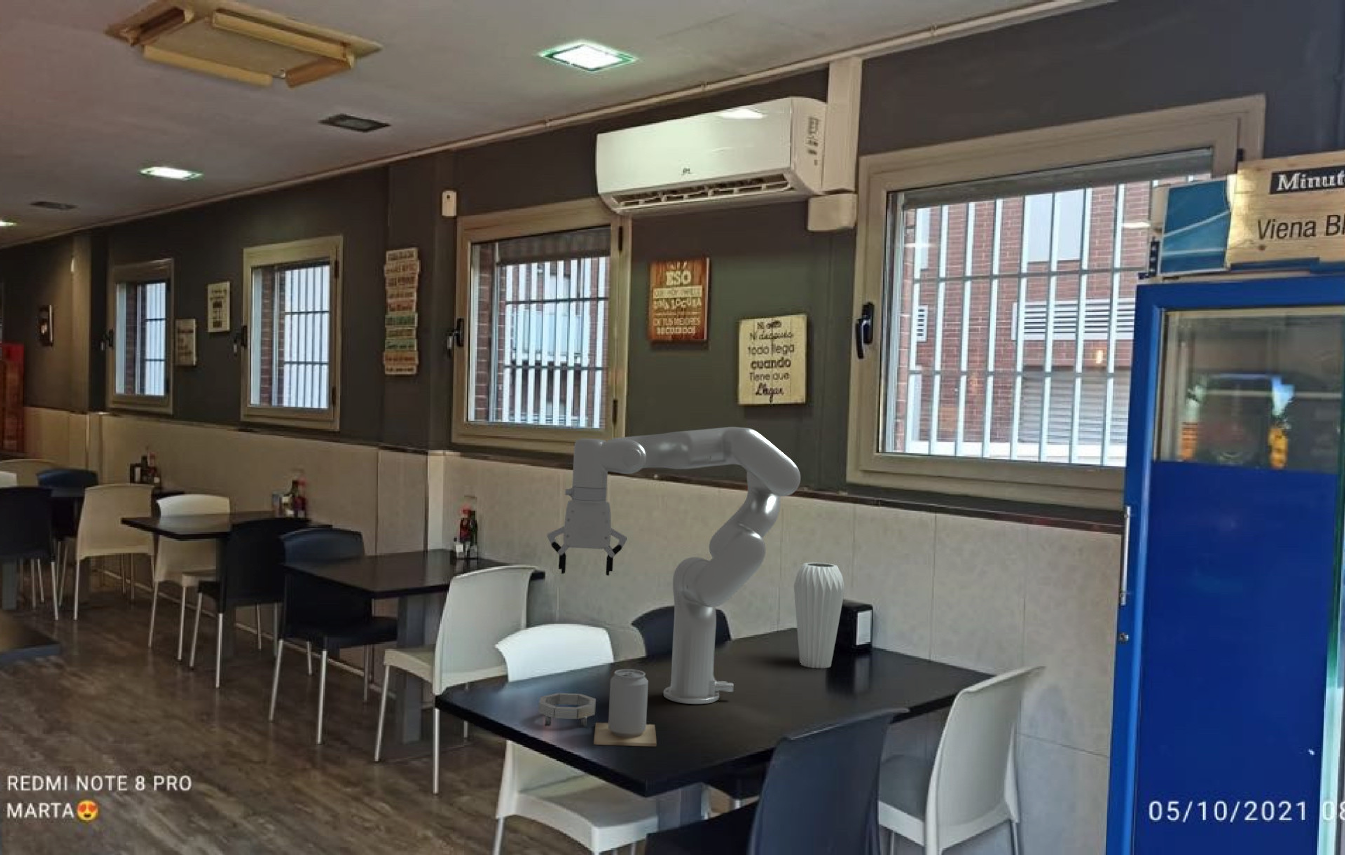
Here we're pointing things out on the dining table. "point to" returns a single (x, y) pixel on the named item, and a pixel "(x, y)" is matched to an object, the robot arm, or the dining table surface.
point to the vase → (818, 612)
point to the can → (628, 703)
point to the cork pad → (608, 738)
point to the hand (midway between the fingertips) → (585, 573)
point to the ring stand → (553, 711)
